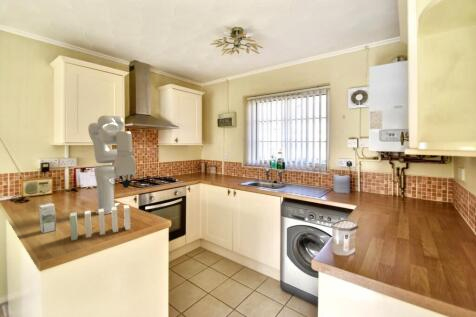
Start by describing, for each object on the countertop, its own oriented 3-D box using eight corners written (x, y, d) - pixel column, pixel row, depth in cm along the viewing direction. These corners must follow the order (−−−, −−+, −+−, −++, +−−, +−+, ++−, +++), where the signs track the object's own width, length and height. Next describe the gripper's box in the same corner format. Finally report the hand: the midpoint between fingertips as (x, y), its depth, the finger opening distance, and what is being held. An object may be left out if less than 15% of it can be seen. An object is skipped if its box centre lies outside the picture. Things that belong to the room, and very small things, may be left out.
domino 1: (91, 232, 121) (90, 210, 120) (91, 236, 116) (90, 213, 115) (86, 233, 120) (84, 211, 119) (85, 237, 115) (84, 214, 114)
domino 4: (129, 225, 131) (128, 205, 130) (130, 229, 126) (129, 207, 125) (124, 226, 130) (123, 205, 129) (125, 230, 125) (124, 208, 124)
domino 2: (104, 230, 125) (103, 208, 124) (105, 233, 120) (104, 211, 118) (99, 231, 123) (98, 209, 122) (99, 235, 118) (98, 212, 117)
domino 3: (117, 227, 128) (116, 206, 127) (118, 231, 123) (117, 209, 122) (112, 228, 126) (111, 207, 125) (113, 232, 121) (111, 210, 120)
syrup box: (53, 227, 128) (51, 202, 126) (56, 230, 124) (54, 204, 123) (40, 231, 123) (38, 204, 122) (42, 234, 119) (40, 206, 118)
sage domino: (78, 234, 118) (76, 212, 117) (77, 239, 113) (75, 215, 112) (72, 236, 117) (70, 213, 116) (71, 240, 112) (69, 216, 111)
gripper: (136, 153, 132) (138, 184, 134) (107, 154, 122) (109, 188, 124) (141, 153, 126) (142, 186, 128) (111, 155, 117) (112, 190, 118)
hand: (126, 187), depth 126 cm, fingers closed
